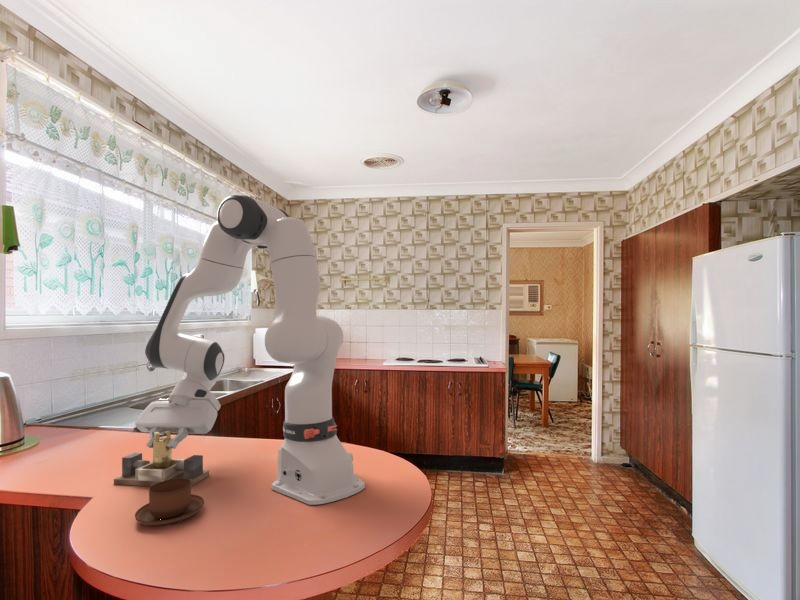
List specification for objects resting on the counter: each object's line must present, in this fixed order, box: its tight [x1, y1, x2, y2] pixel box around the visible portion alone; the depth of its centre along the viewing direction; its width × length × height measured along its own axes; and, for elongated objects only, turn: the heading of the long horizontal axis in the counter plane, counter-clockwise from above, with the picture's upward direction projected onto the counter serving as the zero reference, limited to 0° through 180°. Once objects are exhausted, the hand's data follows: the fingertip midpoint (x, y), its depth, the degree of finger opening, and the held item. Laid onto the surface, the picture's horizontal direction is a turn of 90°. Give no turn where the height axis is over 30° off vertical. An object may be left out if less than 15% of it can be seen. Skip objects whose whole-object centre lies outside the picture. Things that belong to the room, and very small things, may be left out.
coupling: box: [152, 430, 173, 469], centre depth 103 cm, size 4×4×10 cm
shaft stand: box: [113, 452, 210, 487], centre depth 103 cm, size 20×8×6 cm, turn 79°
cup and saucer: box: [134, 478, 205, 527], centre depth 83 cm, size 12×12×6 cm
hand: (160, 447), depth 103 cm, fingers open, 4 cm apart
